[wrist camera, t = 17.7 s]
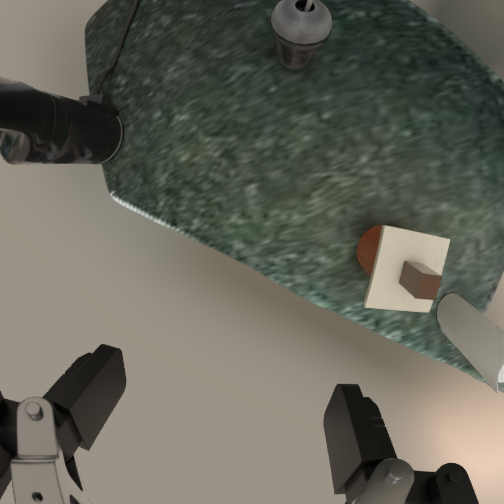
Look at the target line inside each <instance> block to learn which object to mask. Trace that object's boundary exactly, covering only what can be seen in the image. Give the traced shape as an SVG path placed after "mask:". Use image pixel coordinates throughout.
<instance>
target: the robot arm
mask: <svg viewBox="0 0 504 504" xmlns="http://www.w3.org/2000/svg"><path fill="white" fill-rule="evenodd" d="M138 2H139V0H134V3H133V6H132V9H131V12H130V14H129V16H128V19H127V21H126V23H125V26H124V28H123V31H122V34H121V36H120V40H119V43H118V46H117V49H116V52H115V55H114V58H113V60H112V62H111V64H110V66H109V68H108V69H107V70H106V71H105V72H104V73H103V74H102V75H101V77H100V79H99V81H98V83H97V86H96V88H95V91H94V93H93V95H89V96H82V97H80V99H79V100H78V101H76V100H73V99H69V98H66V97H63V96H59V95H55V94H52V93H48V92H45V91H41V90H38V89H35V88H34V87H31V86H29V85H27V84H25V83H23V82H20V81H16V80H13V79H9V78H6V77H3V76H0V153H1V155H2V157H3V159H4V160H5V161H6V162H7V163H9V164H12V165H30V164H62V163H63V164H69V163H70V164H72V163H73V164H74V163H75V164H76V163H78V164H103V163H105V162H107V161H109V160H110V159H112V158H113V157H114V156H115V155H116V153H117V152H118V150H119V149H120V146H121V144H122V141H123V136H124V128H123V123H122V121H121V119H120V117H119V110H117V109H114V108H111V107H109V101H110V96H108V95H105V94H99V92H100V89H101V87H102V84H103V82H104V80H105V78H106V76H107V75H108V74H109V73H110V72H111V71H112V70H113V69H114V67H115V65H116V62H117V60H118V58H119V55H120V52H121V49H122V46H123V42H124V39H125V36H126V33H127V30H128V28H129V25H130V23H131V21H132V18H133V16H134V14H135V11H136V9H137V6H138ZM125 387H126V375H125V368H124V362H123V355H122V351H121V350H120V349H119V348H115V347H112V346H109V345H105V344H101V345H100V346H99V347H98V348H97V349H96V350H95V351H94V352H93V354H92V353H87V354H85V355H83V356H81V357H79V358H78V359H77V360H76V361H75V362H74V363H73V364H72V365H71V367H69V369H68V370H66V372H65V374H63V375H62V376H61V377H60V378H59V379H58V380H57V382H56V383H55V384H54V385H53V386H52V387H51V388H50V390H49V391H48V392H47V393H46V394H45V395H44V396H43V397H42V398H41V397H30V398H27V399H25V400H23V401H22V402H21V403H20V402H15V401H11V400H8V399H5V398H4V397H3V396H2V393H1V391H0V499H1V497H2V495H3V494H4V492H5V490H6V488H7V486H8V484H9V483H10V481H11V479H12V486H13V493H14V500H15V504H92V503H91V502H90V499H89V497H88V495H87V492H86V489H85V486H84V482H83V479H82V475H81V472H80V468H79V464H78V460H77V456H76V453H75V451H76V450H77V448H78V446H79V447H81V448H83V449H85V450H88V451H89V450H90V448H91V446H92V444H93V443H94V441H95V439H96V437H97V436H98V434H99V432H100V431H101V429H102V428H103V426H104V424H105V422H106V421H107V419H108V417H109V416H110V414H111V412H112V411H113V409H114V408H115V406H116V404H117V403H118V401H119V399H120V398H121V396H122V394H123V393H124V390H125ZM381 417H382V416H381V414H380V411H379V408H378V406H377V405H376V404H375V403H374V402H373V401H372V400H371V399H370V398H369V397H363V395H362V392H361V390H360V387H359V385H358V384H337V385H336V387H335V390H334V392H333V394H332V397H331V399H330V402H329V404H328V406H327V409H326V411H325V415H324V431H325V436H326V442H327V448H328V454H329V460H330V467H331V473H332V480H333V486H334V493H335V494H345V495H346V501H345V502H344V503H343V504H479V503H478V500H477V497H476V494H475V492H474V489H473V486H472V484H471V481H470V479H469V476H468V474H467V472H466V470H465V469H464V468H463V467H462V466H460V465H458V464H456V463H447V464H444V465H442V466H441V467H440V468H439V469H438V470H437V471H436V472H425V471H414V470H413V469H412V467H411V466H410V465H409V464H408V463H407V462H405V461H403V460H401V459H398V458H397V456H396V453H395V450H394V448H393V445H392V442H391V440H390V437H389V434H388V432H387V429H386V427H385V424H384V421H383V419H382V418H381Z"/></svg>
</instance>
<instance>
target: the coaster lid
mask: <svg viewBox="0 0 504 504" xmlns="http://www.w3.org/2000/svg"><path fill="white" fill-rule="evenodd" d="M449 243H450V239H448V238H445V237H440V236H436V235H431V234H427V233H422V232H418V231H413V230H408V229H403V228H398V227H393V226H388V225H383V226H382V231H381V235H380V240H379V245H378V249H377V254H376V258H375V262H374V267H373V271H372V275H371V278H370V282H369V286H368V290H367V293H366V297H365V301H364V304H363V305H364V307H366V308H377V309H389V310H401V311H414V312H429V311H430V308H431V305H432V303H433V300H435V298H436V295H437V292H438V289H439V285H440V282H441V279H442V276H441V274H442V270H443V266H444V263H445V259H446V255H447V251H448V247H449Z"/></svg>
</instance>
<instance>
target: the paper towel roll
mask: <svg viewBox="0 0 504 504" xmlns="http://www.w3.org/2000/svg"><path fill="white" fill-rule="evenodd" d="M437 320H438V322H439V323H440V326H441V331H442V332H443V333H444V334H445V335H446V336H447V338H448V339H449V340H450V341H451V342H452V343H453V344H454V345H455V346H456V347H457V348H458V349H459V350H460V352H461V353H462V354H463V355H464V356H465V357H466V358H467V359H468V360H469V362H470V363H471V364H472V365H473V366H474V367H475V368H476V370H477V371H478V372H479V373H480V374H481V375H482V376H483V378H484V379H485V380H486V381H487V382H488V384H489V385H490V386H491V387H492V388H493V390H494V391H495V392H496V393H497V392H498V385H497V381H498V382H500V383H502V382H504V331H503V330H501V329H500V328H499V327H498V326H497V325H495V324H494V323H493V322H492V321H490V320H489V319H488V318H487V317H485V316H484V315H483V314H482V313H480V312H479V311H478V310H477V309H475V308H474V307H473V306H471V305H470V304H469V303H468V302H466V301H465V300H464V299H462V298H461V297H460V296H458V295H457V294H456V293H450V294H447V295H446V296H445V297H443V298H442V300H441V301H440V303H439V304H438V307H437Z"/></svg>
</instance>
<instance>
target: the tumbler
mask: <svg viewBox="0 0 504 504" xmlns="http://www.w3.org/2000/svg"><path fill="white" fill-rule="evenodd" d="M383 225H384V224H382V225H376V226H374V227H371V228H370V229H368V230H367V231H366V232H365V233H364V234H363V236H362V237H361V239H360V241H359V243H358V246H357V260H358V263H359V265H360V267H361V268H362V270H363V271H364V272H365V273H366V274H367V275H368V276H369V277H370V278H371V275H372V271H373V267H374V262H375V258H376V254H377V249H378V245H379V240H380V235H381V231H382V226H383ZM388 226H389V225H388Z"/></svg>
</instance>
